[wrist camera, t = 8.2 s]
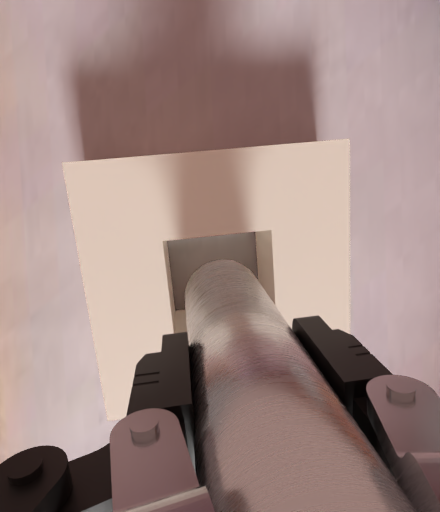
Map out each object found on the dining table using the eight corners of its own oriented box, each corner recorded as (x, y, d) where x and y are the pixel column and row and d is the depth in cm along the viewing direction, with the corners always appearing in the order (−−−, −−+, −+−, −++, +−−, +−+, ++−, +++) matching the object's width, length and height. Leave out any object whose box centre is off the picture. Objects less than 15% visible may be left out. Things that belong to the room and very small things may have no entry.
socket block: (317, 143, 20) (349, 138, 17) (321, 350, 23) (350, 387, 19) (84, 162, 19) (61, 162, 16) (119, 376, 22) (107, 421, 18)
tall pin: (257, 255, 16) (679, 738, 3) (261, 325, 17) (603, 977, 3) (180, 263, 16) (205, 851, 2) (188, 335, 17) (243, 1086, 3)
